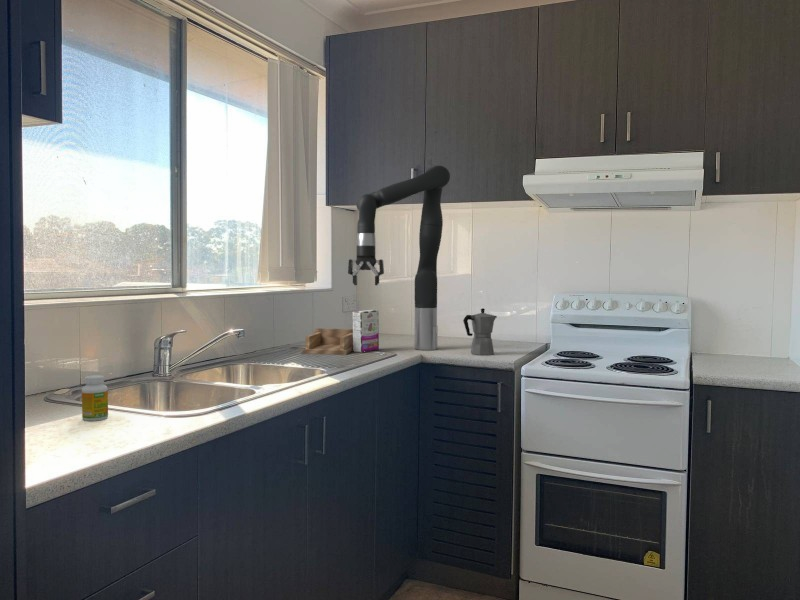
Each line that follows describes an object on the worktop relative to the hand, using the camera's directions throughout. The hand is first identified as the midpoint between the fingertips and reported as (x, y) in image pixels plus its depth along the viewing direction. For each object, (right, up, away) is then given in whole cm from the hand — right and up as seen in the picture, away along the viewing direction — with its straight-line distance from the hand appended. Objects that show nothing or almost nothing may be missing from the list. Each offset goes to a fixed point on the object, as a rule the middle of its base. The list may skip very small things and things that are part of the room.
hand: (365, 285), depth 270 cm
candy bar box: (0, -27, +1) cm, 27 cm away
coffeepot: (+45, -27, -6) cm, 53 cm away
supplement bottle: (-56, -33, -117) cm, 134 cm away
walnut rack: (-14, -27, +1) cm, 30 cm away
